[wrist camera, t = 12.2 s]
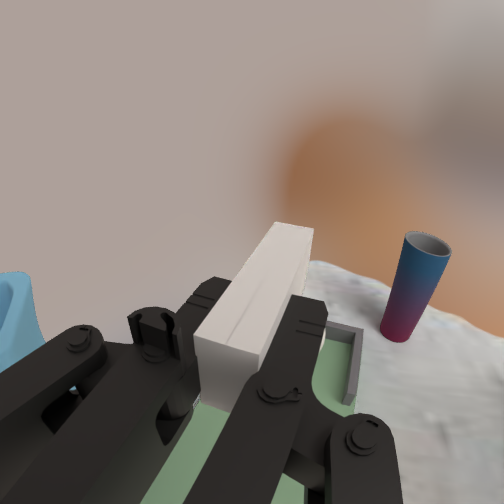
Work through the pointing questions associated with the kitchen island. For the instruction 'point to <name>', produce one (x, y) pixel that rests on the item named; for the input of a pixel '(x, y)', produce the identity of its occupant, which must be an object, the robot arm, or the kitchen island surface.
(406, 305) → the cup
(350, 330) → the grey u-shaped wall
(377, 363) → the kitchen island surface
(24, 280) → the vase
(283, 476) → the mat
